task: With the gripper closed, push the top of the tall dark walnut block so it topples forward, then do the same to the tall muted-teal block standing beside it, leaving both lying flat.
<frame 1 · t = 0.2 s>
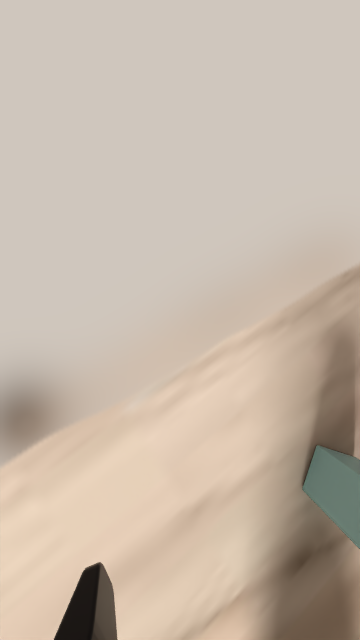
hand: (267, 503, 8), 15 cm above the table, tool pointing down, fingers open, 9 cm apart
teal block: (329, 473, 25), on the table
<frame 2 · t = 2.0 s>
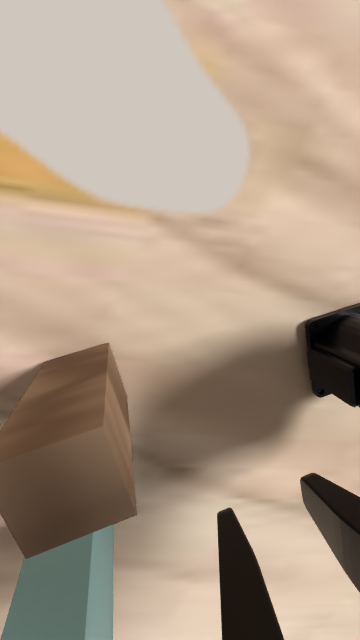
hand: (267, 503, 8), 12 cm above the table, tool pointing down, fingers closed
teal block: (77, 517, 20), on the table
walnut block: (87, 380, 18), on the table
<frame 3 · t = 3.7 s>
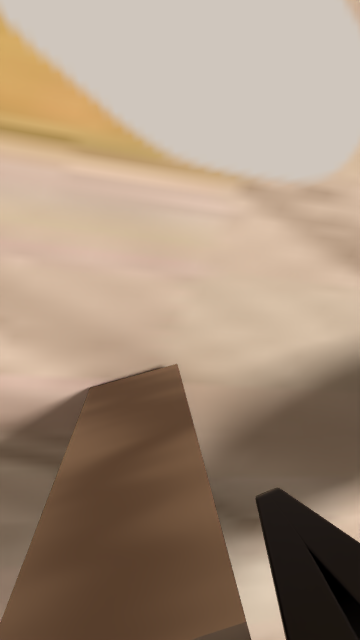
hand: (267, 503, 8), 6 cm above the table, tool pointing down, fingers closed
walnut block: (146, 413, 13), on the table, tilted 6°, touching gripper
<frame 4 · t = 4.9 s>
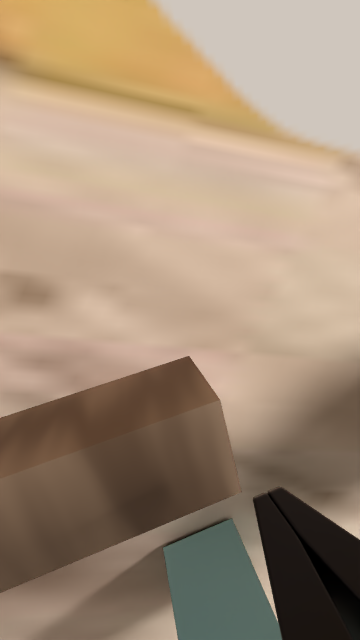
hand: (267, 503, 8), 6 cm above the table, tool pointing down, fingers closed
teal block: (205, 558, 16), on the table
walnut block: (212, 416, 12), point 2 cm above the table, tilted 90°
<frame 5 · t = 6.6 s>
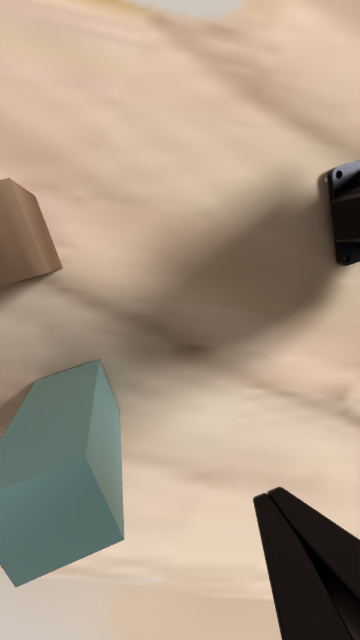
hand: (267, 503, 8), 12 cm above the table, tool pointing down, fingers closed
teal block: (79, 396, 18), on the table
walnut block: (40, 231, 14), point 2 cm above the table, tilted 90°
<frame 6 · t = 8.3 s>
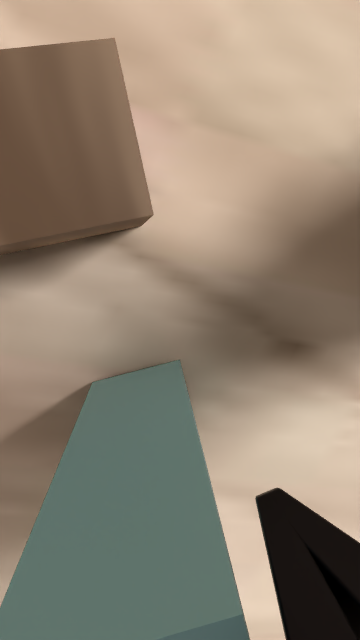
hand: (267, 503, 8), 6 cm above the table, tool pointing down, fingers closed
teal block: (147, 408, 13), on the table, tilted 7°, touching gripper
walnut block: (131, 157, 9), point 2 cm above the table, tilted 90°
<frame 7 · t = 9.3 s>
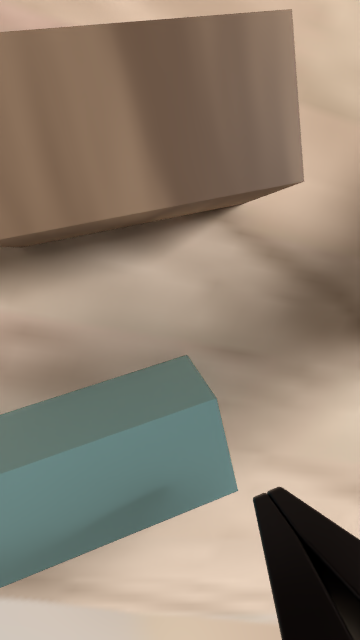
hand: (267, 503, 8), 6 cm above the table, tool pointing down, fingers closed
teal block: (209, 415, 12), point 2 cm above the table, tilted 90°
walnut block: (261, 131, 9), point 2 cm above the table, tilted 90°
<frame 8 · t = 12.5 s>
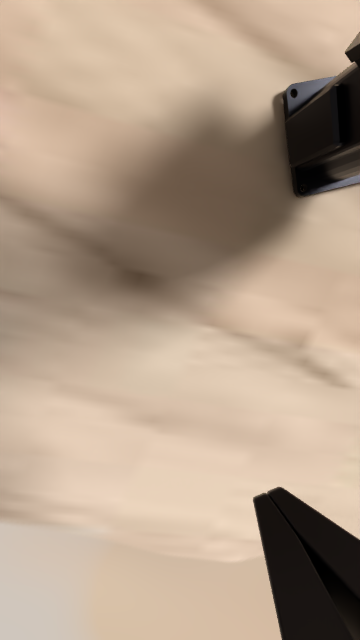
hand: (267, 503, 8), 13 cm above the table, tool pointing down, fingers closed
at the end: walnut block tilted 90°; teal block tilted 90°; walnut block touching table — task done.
